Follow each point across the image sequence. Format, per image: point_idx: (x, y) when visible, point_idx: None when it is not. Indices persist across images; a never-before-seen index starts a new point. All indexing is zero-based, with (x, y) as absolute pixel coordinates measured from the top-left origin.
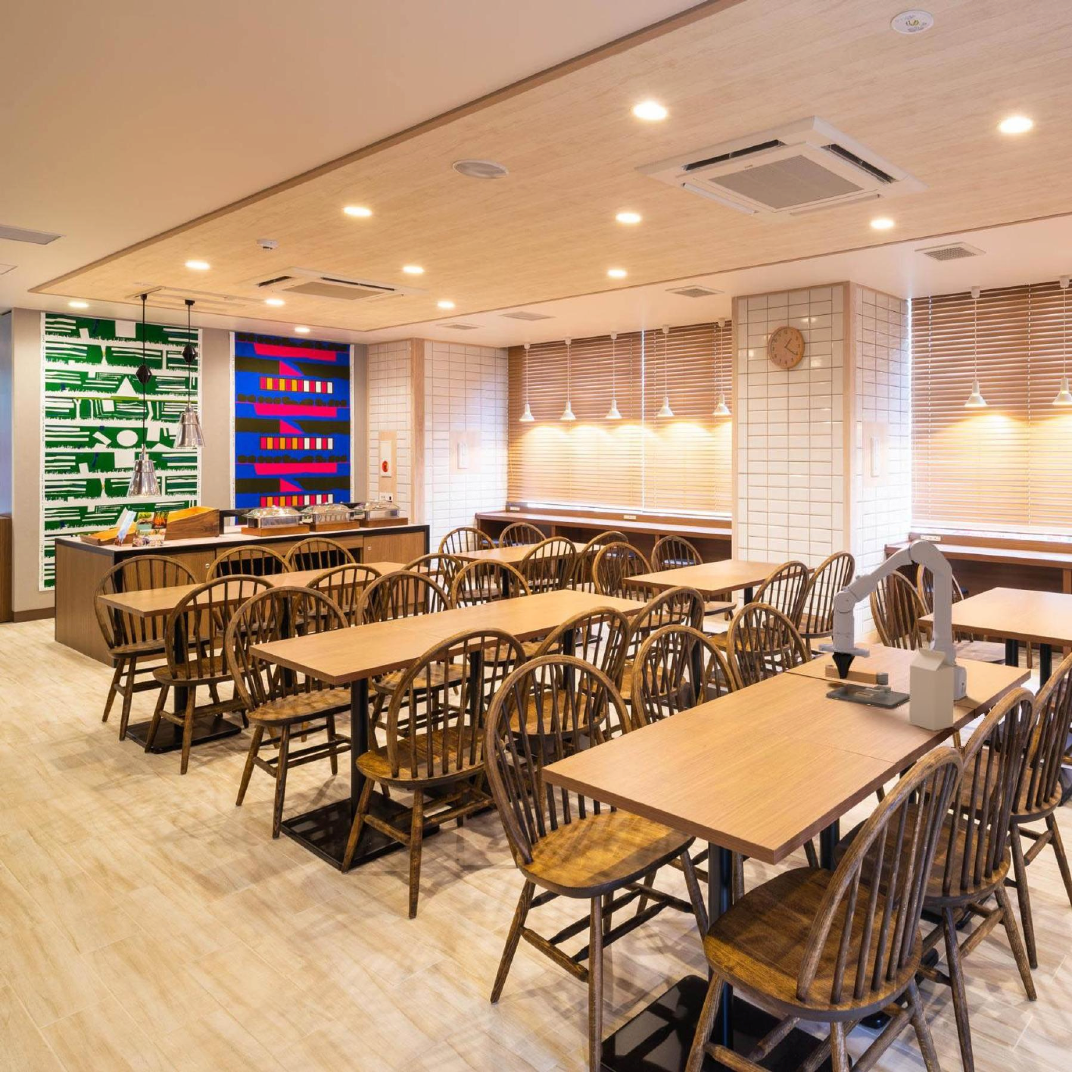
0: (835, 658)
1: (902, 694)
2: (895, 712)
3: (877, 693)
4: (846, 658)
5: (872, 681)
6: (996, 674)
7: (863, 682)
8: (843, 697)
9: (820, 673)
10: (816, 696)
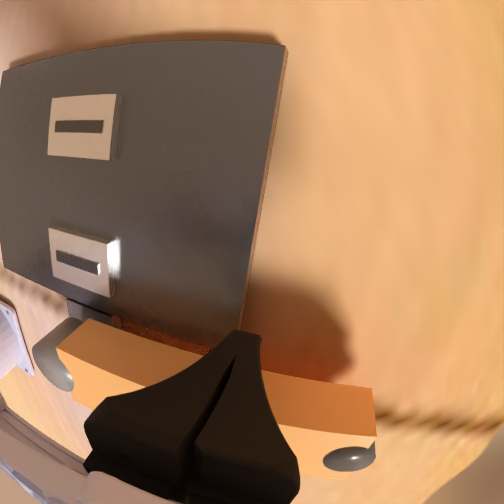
0: (251, 446)
1: (13, 252)
2: (5, 48)
3: (59, 216)
4: (102, 409)
5: (93, 330)
6: None
7: (141, 338)
8: (169, 41)
9: (392, 467)
10: (347, 36)
